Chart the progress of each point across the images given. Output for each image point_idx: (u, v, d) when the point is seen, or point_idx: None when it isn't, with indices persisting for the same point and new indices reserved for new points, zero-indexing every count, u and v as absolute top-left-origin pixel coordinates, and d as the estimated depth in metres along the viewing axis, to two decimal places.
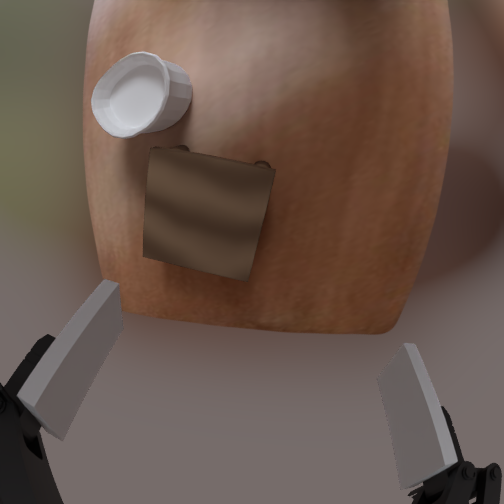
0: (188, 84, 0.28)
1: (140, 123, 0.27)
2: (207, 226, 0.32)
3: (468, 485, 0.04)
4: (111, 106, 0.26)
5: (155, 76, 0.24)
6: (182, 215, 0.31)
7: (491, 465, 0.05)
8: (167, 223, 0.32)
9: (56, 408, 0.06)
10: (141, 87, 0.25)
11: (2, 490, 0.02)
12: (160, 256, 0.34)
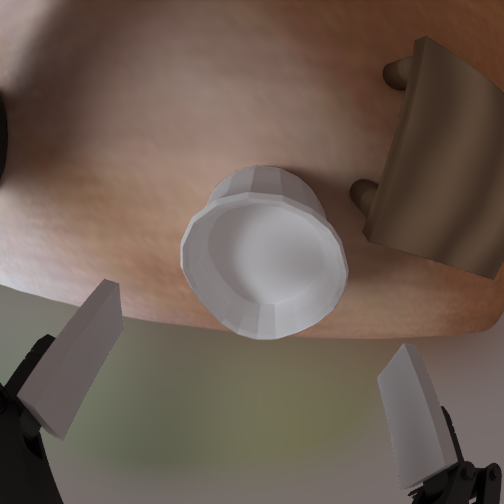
0: (253, 169, 0.19)
1: (318, 254, 0.17)
2: (491, 168, 0.13)
3: (468, 485, 0.04)
4: (274, 302, 0.19)
5: (235, 222, 0.17)
6: (473, 203, 0.14)
7: (491, 465, 0.05)
8: (475, 232, 0.15)
9: (56, 408, 0.06)
10: (251, 248, 0.18)
11: (2, 490, 0.02)
12: (502, 253, 0.15)
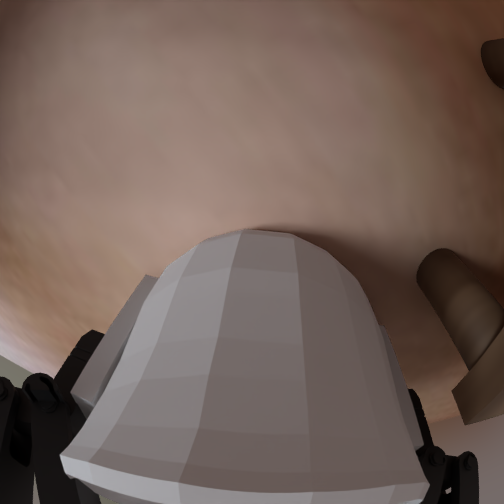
0: (233, 251, 0.08)
1: None
2: None
3: (438, 471, 0.05)
4: None
5: None
6: None
7: (464, 454, 0.05)
8: None
9: None
10: None
11: (40, 489, 0.03)
12: None
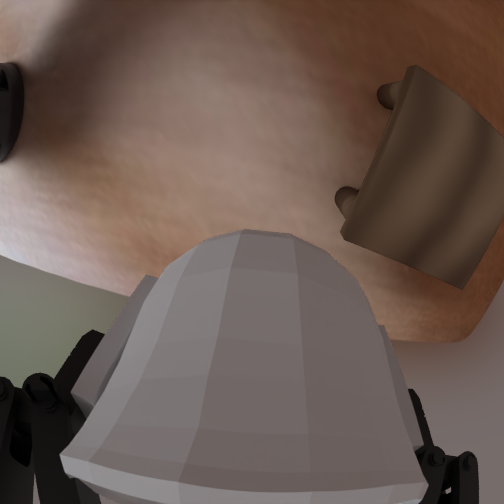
0: (233, 252, 0.08)
1: None
2: (466, 187, 0.16)
3: (438, 471, 0.05)
4: None
5: None
6: (444, 217, 0.17)
7: (464, 454, 0.05)
8: (445, 242, 0.18)
9: None
10: None
11: (41, 489, 0.03)
12: (472, 265, 0.19)
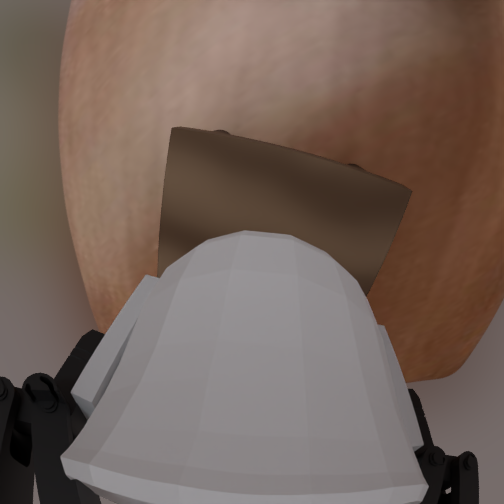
0: (233, 253, 0.08)
1: None
2: None
3: (438, 471, 0.05)
4: None
5: None
6: None
7: (464, 454, 0.05)
8: None
9: None
10: None
11: (41, 489, 0.03)
12: None
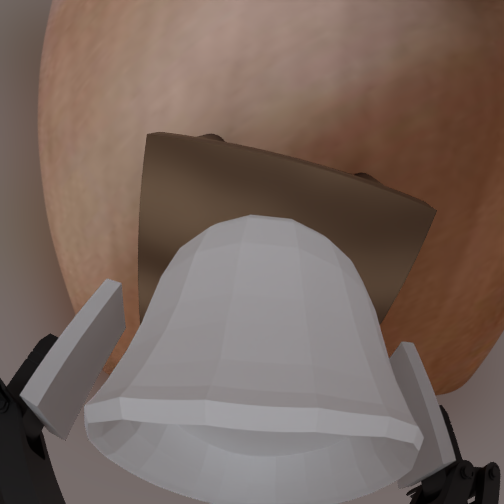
0: (242, 231, 0.10)
1: None
2: None
3: (466, 484, 0.04)
4: (275, 456, 0.09)
5: None
6: None
7: (489, 464, 0.05)
8: None
9: (59, 408, 0.06)
10: None
11: (4, 490, 0.02)
12: None
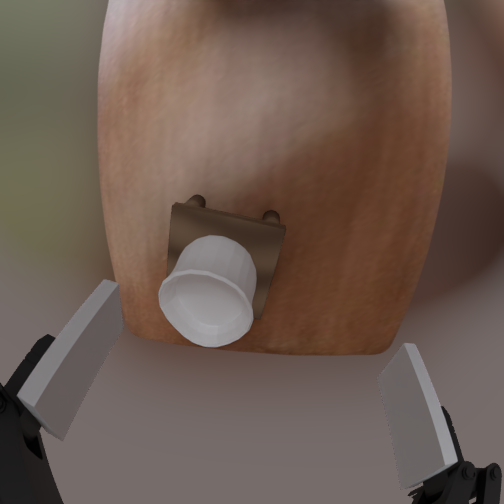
0: (204, 241, 0.31)
1: (240, 298, 0.29)
2: None
3: (468, 485, 0.04)
4: (217, 324, 0.31)
5: (189, 279, 0.28)
6: None
7: (491, 465, 0.05)
8: None
9: (56, 408, 0.06)
10: (200, 294, 0.29)
11: (2, 490, 0.02)
12: None
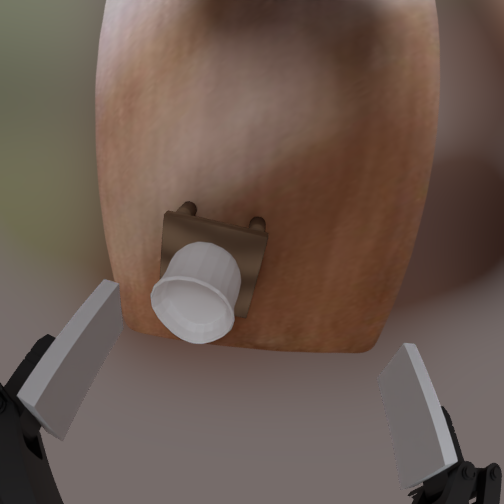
0: (193, 247, 0.34)
1: None
2: None
3: (468, 485, 0.04)
4: (204, 323, 0.34)
5: (178, 283, 0.31)
6: None
7: (491, 465, 0.05)
8: None
9: (56, 408, 0.06)
10: (188, 296, 0.32)
11: (2, 490, 0.02)
12: None
